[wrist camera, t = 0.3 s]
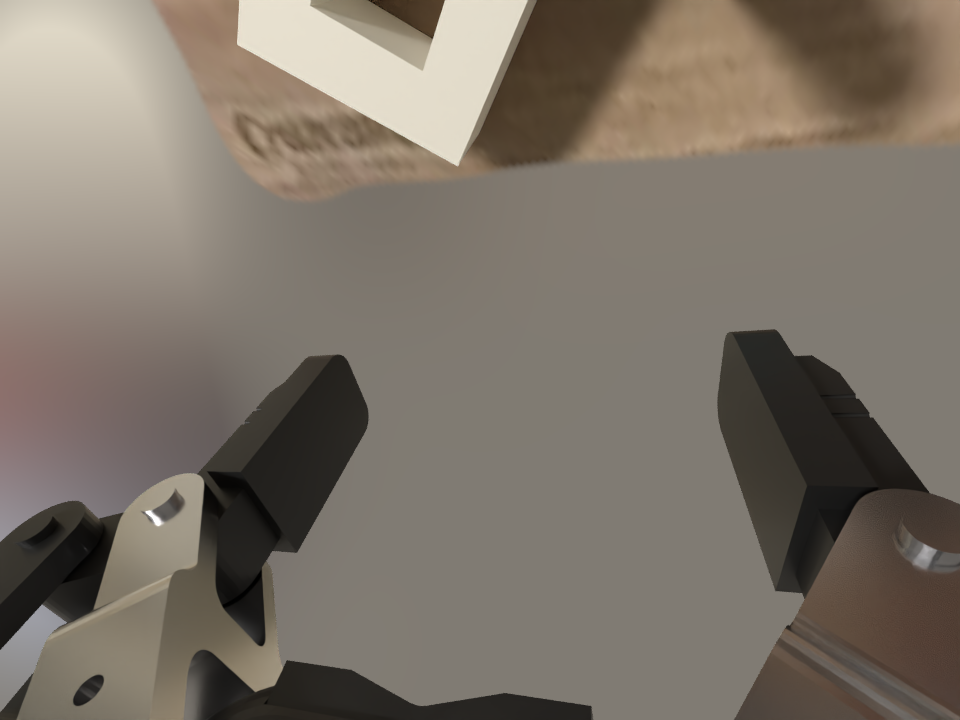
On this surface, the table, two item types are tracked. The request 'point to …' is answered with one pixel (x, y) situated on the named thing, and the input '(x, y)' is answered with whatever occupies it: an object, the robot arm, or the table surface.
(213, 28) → the table surface
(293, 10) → the socket block
